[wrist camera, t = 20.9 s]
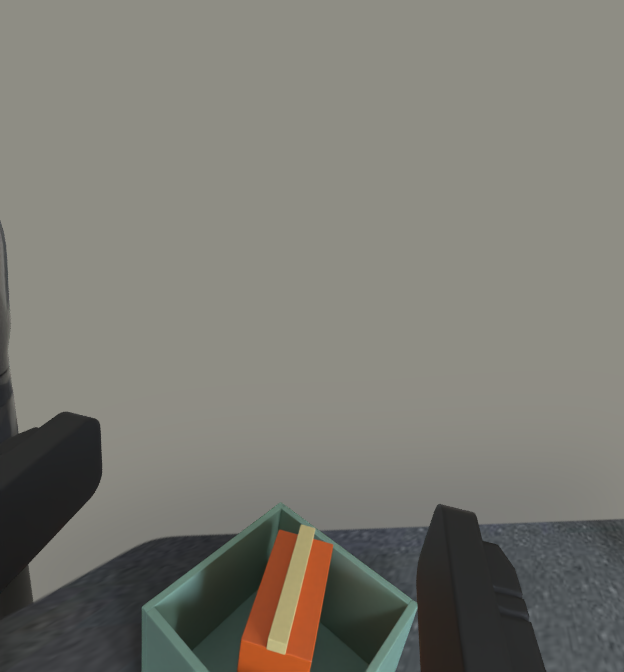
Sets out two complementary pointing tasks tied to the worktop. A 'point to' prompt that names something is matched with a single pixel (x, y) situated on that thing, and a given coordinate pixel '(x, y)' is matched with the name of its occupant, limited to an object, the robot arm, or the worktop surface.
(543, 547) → the worktop surface
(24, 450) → the robot arm
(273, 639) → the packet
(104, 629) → the worktop surface
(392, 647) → the bin
